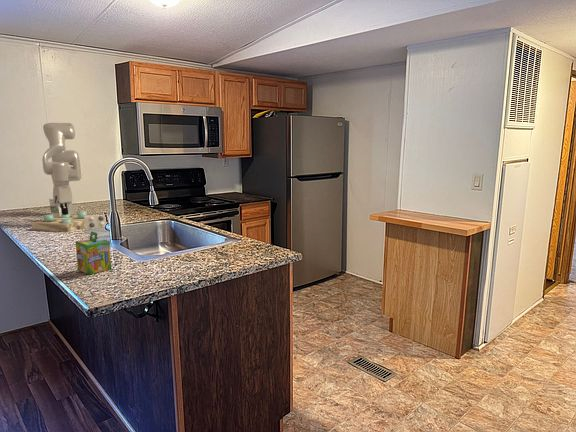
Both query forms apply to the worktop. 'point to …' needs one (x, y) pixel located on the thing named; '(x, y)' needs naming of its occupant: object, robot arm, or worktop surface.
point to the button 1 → (48, 218)
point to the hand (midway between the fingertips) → (65, 214)
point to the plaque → (95, 221)
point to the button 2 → (66, 221)
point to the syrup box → (54, 208)
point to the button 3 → (81, 215)
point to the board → (59, 224)
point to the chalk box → (93, 255)
